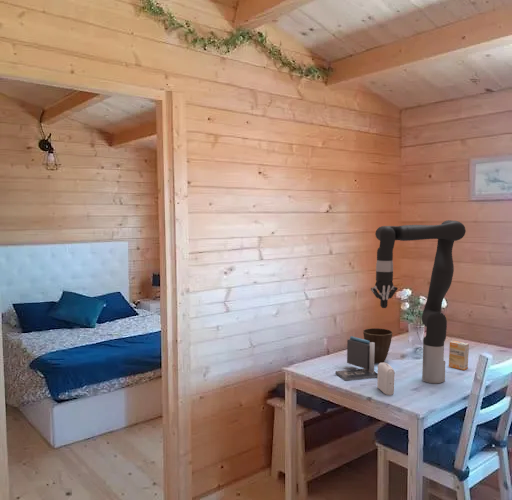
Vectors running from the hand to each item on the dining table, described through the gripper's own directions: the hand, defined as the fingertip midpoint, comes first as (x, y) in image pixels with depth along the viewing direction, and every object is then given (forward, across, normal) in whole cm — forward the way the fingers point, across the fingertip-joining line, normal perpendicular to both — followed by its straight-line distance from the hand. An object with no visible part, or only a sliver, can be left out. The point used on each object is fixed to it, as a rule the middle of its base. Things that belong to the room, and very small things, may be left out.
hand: (383, 307), depth 234 cm
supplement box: (+35, -48, -9) cm, 60 cm away
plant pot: (+35, -14, -30) cm, 48 cm away
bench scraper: (+33, +1, -18) cm, 38 cm away
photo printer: (+35, +4, +10) cm, 37 cm away
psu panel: (+35, +6, -12) cm, 38 cm away
